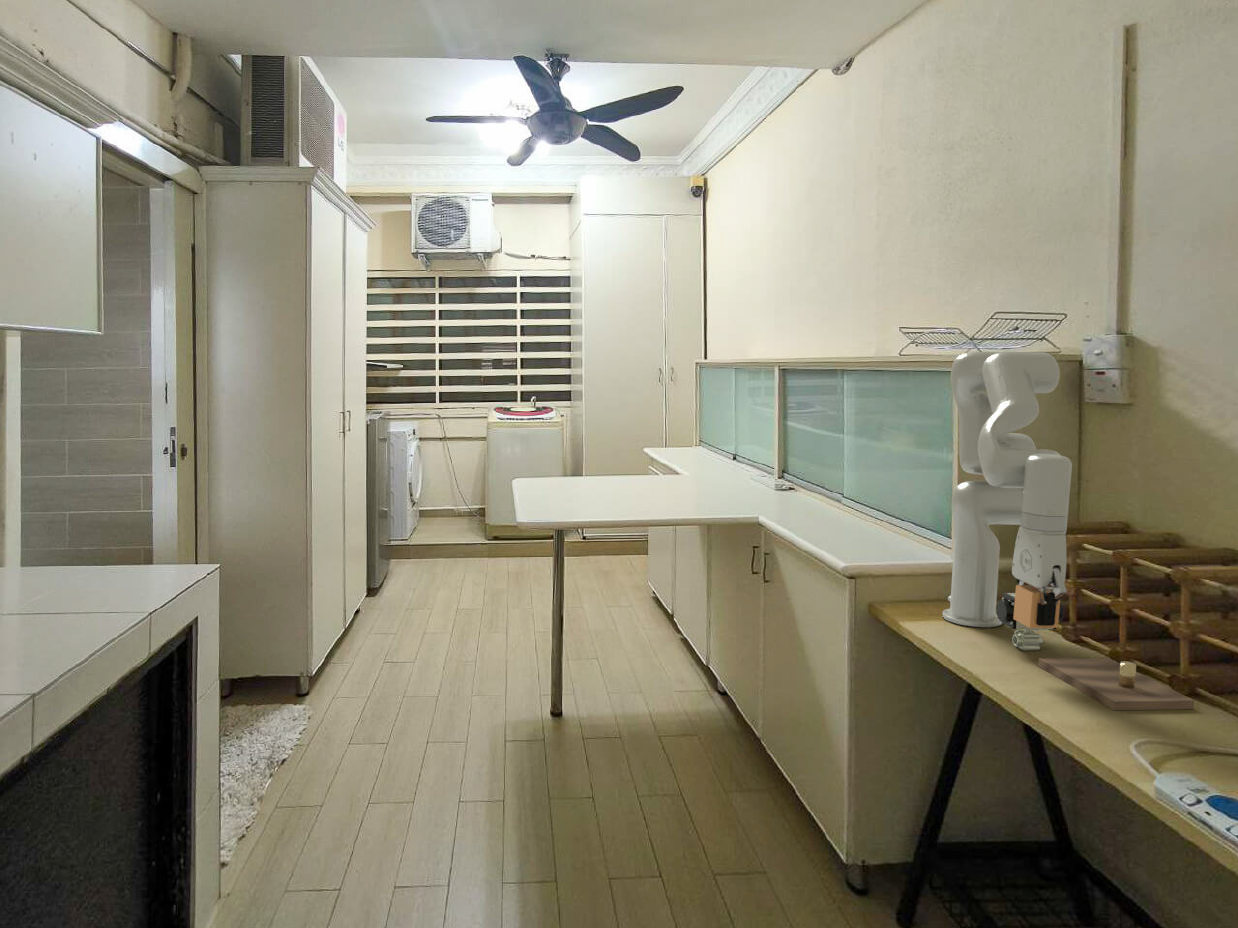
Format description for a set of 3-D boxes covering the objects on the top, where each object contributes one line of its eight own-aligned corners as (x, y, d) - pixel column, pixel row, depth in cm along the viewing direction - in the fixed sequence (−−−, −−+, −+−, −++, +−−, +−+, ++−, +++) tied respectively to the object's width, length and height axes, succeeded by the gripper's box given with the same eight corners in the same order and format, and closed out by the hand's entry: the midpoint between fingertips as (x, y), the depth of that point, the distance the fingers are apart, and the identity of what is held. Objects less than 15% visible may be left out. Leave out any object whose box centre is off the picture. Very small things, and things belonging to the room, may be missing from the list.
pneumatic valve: (1061, 652, 175) (1065, 593, 174) (1004, 652, 174) (1008, 593, 173) (1046, 643, 181) (1050, 586, 179) (991, 643, 180) (994, 586, 179)
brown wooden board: (1038, 666, 166) (1040, 637, 166) (1107, 665, 168) (1109, 637, 167) (1114, 710, 144) (1117, 678, 144) (1193, 708, 146) (1196, 676, 145)
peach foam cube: (1013, 618, 163) (1016, 584, 162) (1040, 618, 163) (1043, 584, 163) (1029, 628, 158) (1032, 593, 157) (1057, 627, 158) (1060, 592, 157)
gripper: (999, 513, 166) (991, 606, 169) (1051, 532, 149) (1043, 635, 152) (1036, 513, 167) (1028, 605, 169) (1093, 532, 150) (1083, 634, 152)
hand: (1035, 618), depth 160 cm, fingers closed on peach foam cube, 5 cm apart
